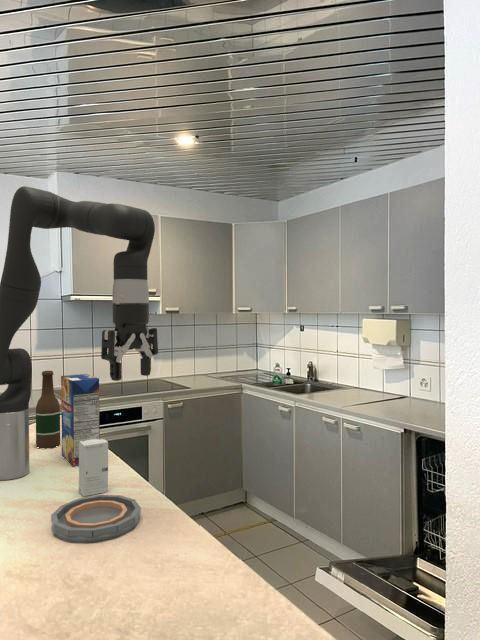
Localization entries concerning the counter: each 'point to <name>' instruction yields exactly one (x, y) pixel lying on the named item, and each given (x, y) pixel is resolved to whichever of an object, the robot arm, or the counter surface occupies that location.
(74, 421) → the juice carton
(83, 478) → the skincare box
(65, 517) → the ring tray
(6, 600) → the counter surface
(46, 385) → the beer bottle
